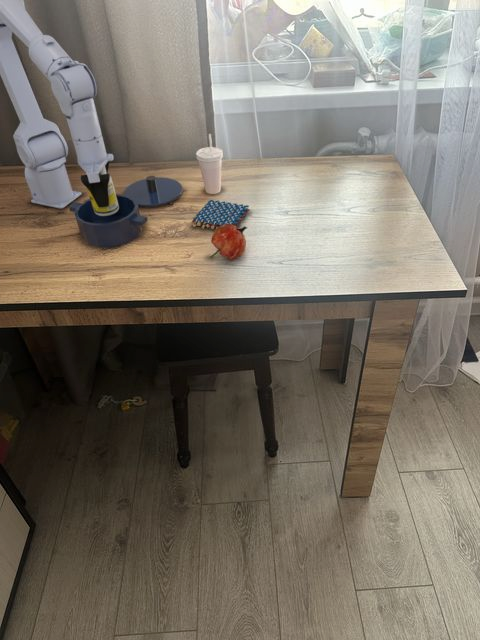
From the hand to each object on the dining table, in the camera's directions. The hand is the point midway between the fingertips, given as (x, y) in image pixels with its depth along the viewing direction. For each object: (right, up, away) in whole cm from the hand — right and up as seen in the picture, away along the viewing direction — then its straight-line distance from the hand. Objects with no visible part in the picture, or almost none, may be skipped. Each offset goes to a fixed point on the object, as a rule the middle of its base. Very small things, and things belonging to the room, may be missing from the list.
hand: (103, 199), depth 108 cm
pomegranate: (+27, -13, -3) cm, 30 cm away
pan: (0, -5, +5) cm, 8 cm away
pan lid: (+7, +7, +17) cm, 19 cm away
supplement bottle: (0, -2, +2) cm, 3 cm away
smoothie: (+22, +8, +18) cm, 29 cm away
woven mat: (+25, -2, +8) cm, 26 cm away
